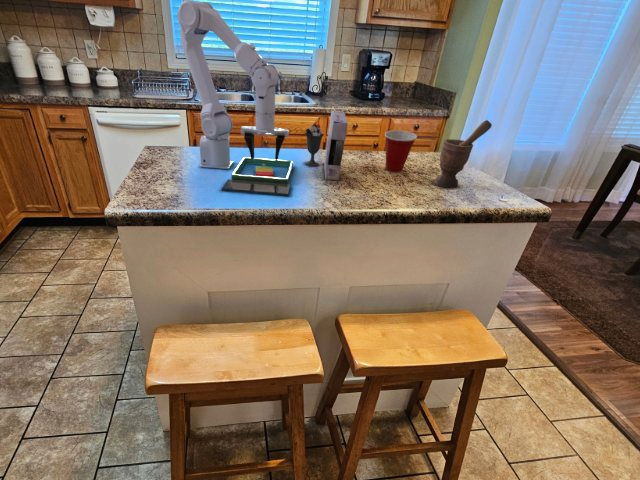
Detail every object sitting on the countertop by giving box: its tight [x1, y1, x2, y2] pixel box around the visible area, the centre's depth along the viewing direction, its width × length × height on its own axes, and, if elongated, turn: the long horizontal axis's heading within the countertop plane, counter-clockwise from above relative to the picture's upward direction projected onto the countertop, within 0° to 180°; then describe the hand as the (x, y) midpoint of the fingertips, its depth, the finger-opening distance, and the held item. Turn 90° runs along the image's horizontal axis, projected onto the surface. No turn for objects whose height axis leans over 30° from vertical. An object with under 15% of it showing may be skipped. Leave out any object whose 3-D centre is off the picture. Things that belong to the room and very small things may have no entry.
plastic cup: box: [384, 129, 418, 173], centre depth 132 cm, size 11×11×12 cm
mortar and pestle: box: [433, 119, 493, 189], centre depth 119 cm, size 12×9×20 cm
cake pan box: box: [323, 109, 349, 181], centre depth 124 cm, size 19×5×18 cm, turn 176°
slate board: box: [221, 179, 291, 197], centre depth 112 cm, size 19×8×1 cm, turn 85°
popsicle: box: [255, 164, 274, 177], centre depth 124 cm, size 6×15×2 cm, turn 4°
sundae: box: [304, 117, 325, 167], centre depth 131 cm, size 7×7×15 cm
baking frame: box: [231, 156, 294, 184], centre depth 124 cm, size 17×20×2 cm
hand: (264, 159), depth 122 cm, fingers open, 7 cm apart
